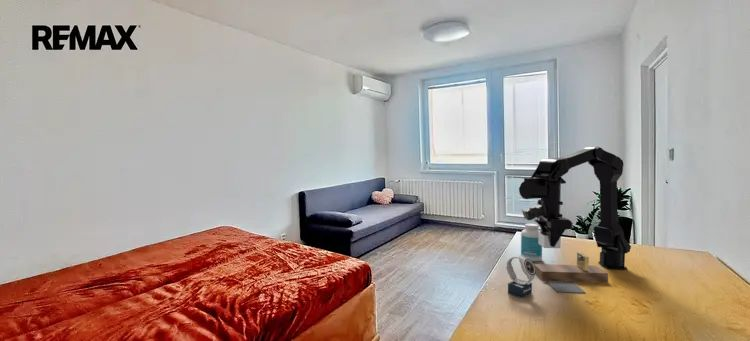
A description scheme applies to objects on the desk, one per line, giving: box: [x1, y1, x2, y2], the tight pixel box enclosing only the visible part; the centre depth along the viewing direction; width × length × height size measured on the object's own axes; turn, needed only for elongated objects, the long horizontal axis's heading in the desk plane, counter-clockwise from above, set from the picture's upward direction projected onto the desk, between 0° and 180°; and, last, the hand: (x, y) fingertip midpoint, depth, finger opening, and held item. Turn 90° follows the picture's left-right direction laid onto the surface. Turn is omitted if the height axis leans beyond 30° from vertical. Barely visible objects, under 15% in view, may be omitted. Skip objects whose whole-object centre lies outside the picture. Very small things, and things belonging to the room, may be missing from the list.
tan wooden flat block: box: [576, 251, 590, 271], centre depth 110 cm, size 2×5×5 cm, turn 174°
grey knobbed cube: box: [538, 231, 562, 249], centre depth 111 cm, size 5×5×5 cm
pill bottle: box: [520, 223, 543, 263], centre depth 129 cm, size 8×7×14 cm
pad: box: [545, 281, 586, 294], centre depth 103 cm, size 8×8×1 cm
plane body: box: [533, 263, 609, 283], centre depth 111 cm, size 20×7×3 cm, turn 84°
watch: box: [505, 255, 536, 299], centre depth 99 cm, size 6×8×11 cm
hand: (549, 244), depth 111 cm, fingers closed on grey knobbed cube, 5 cm apart
